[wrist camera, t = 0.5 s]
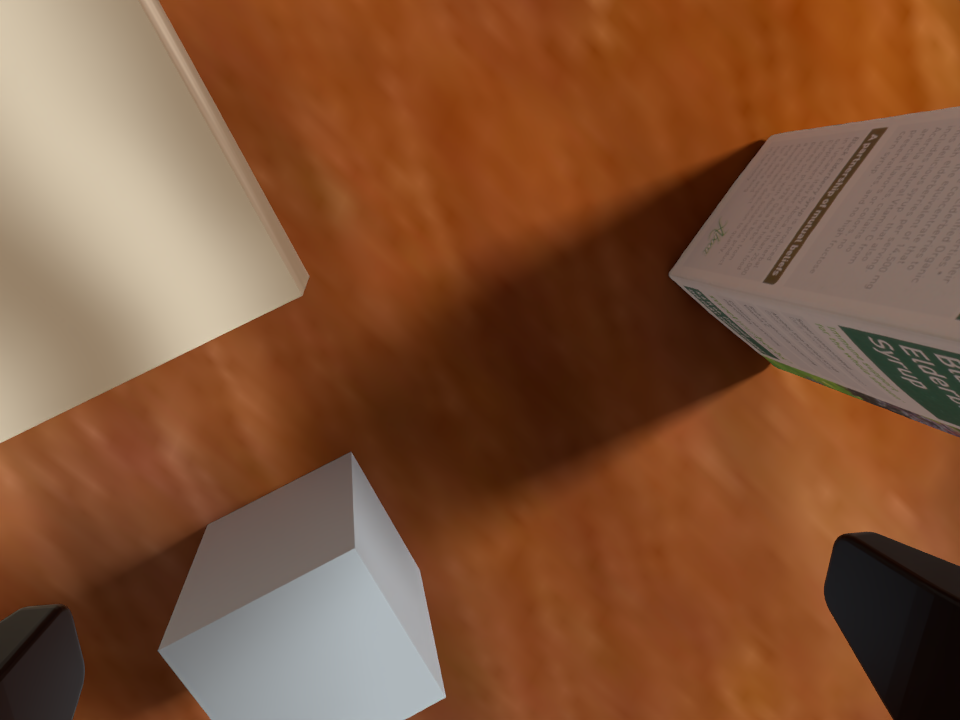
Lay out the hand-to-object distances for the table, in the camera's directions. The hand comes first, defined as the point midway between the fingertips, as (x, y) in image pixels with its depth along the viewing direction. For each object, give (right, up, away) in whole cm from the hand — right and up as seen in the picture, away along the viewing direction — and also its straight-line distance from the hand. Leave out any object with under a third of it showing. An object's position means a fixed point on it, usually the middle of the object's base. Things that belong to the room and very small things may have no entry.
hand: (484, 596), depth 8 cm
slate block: (-5, -3, +14) cm, 15 cm away
